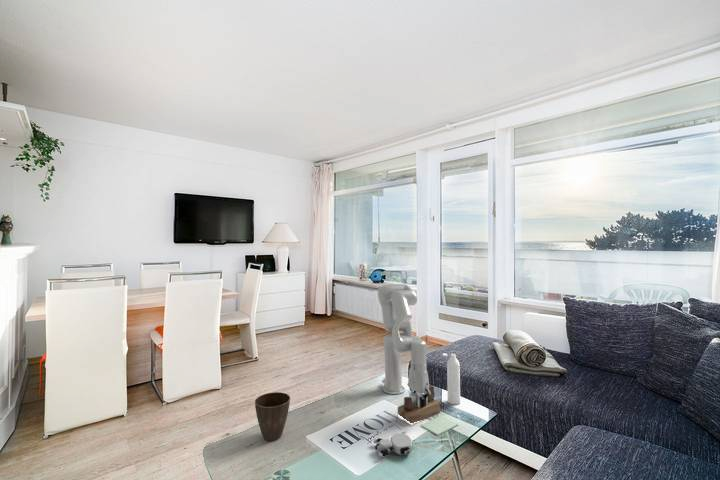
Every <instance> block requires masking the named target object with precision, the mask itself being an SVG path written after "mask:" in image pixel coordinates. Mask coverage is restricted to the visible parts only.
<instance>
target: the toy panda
mask: <svg viewBox="0 0 720 480" xmlns="http://www.w3.org/2000/svg"><path fill="white" fill-rule="evenodd" d="M373 443H374V444H375V446H374V448H375V449H374V450H375V451H377V453H378V454H377V456H378V457H379V458H381V457H383V458H384V457H386V456H388V454H390V453H392V452H394V453H396V454H397V455H401V456H402V455H408V454H410V453H412V451H413V450H415V449H416V448H415V447H413V441H412V439H411V437H410V436H409V435H407V434H406V431H403V432H400V433H395V434H393V435H391V437H390V439H389V438H387V439H386V438H385V439H383V438H375V439H373Z"/></svg>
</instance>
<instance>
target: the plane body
mask: <svg viewBox="0 0 720 480" xmlns="http://www.w3.org/2000/svg"><path fill="white" fill-rule="evenodd" d="M434 388H435V386H434V385H432V384H429V390H430V392H431V395H429V396H428V405H426V406H424V407H421V408H419V409H417V408H415V407H413V406H412V398H411V397H410V396H405V397H404V398H403V404H402V405H399V406H397V415H398V414H399V415H400V416H402V417H403V418H404V419H406V420H407V421H409V422H410V423H414V422H417V421H420V420H423V421H425V420H427V419H429V418H431V416H432V417H434V416H436V415H438V414H440V413H441V402H440V401H438V400H436V399H435V393H434V392H435V390H434ZM426 393H427V392H426ZM424 419H425V420H424ZM420 422H421V421H420Z"/></svg>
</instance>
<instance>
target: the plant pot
mask: <svg viewBox="0 0 720 480" xmlns="http://www.w3.org/2000/svg"><path fill="white" fill-rule="evenodd" d="M290 402H291V396H290V395H289V394H288V393H284V392H281V391H280V392H277V391H276V392H275V391H274V392H268V393H263V394H261V395H259V396H257V398H256V399H254V407H255V413H256V414H255V415H256V418H257V423H258V427H259V429H260V433H261V435H262V438H263V440H264V441H266V442H275V441H278V440H279V439H280V438H282V435H283V432H284V429H285V426H286V423H287V419H288V415H289V409H290V404H291V403H290Z"/></svg>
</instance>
